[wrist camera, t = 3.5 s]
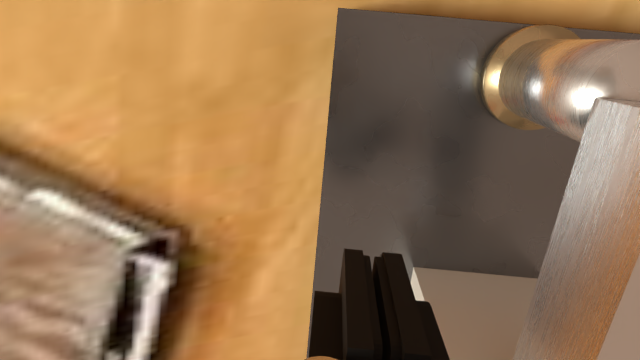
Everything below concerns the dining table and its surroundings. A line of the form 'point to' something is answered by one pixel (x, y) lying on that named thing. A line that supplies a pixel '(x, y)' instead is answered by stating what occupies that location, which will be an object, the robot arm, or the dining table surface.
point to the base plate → (432, 153)
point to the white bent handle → (579, 186)
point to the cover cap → (475, 310)
